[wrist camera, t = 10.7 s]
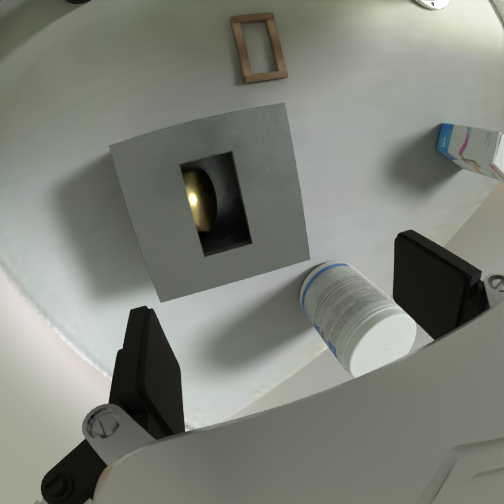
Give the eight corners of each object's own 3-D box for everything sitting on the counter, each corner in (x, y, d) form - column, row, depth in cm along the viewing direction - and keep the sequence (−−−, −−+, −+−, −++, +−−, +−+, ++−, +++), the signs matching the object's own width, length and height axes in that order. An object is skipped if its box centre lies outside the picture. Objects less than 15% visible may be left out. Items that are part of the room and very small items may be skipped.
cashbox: (126, 142, 30) (109, 145, 22) (258, 109, 32) (284, 102, 24) (163, 264, 36) (160, 302, 28) (281, 231, 38) (310, 259, 30)
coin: (181, 164, 31) (200, 211, 34) (156, 193, 26) (181, 245, 30) (203, 159, 30) (222, 208, 33) (181, 188, 25) (205, 243, 29)
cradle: (230, 19, 27) (231, 16, 26) (270, 15, 28) (272, 12, 27) (244, 83, 31) (246, 82, 30) (284, 78, 31) (287, 76, 30)
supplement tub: (286, 309, 43) (330, 380, 30) (316, 249, 41) (377, 305, 27) (338, 322, 46) (388, 384, 33) (367, 268, 44) (430, 320, 31)
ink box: (434, 150, 39) (493, 163, 29) (441, 122, 38) (501, 129, 27) (462, 170, 42) (516, 186, 31) (469, 144, 41) (523, 156, 30)
